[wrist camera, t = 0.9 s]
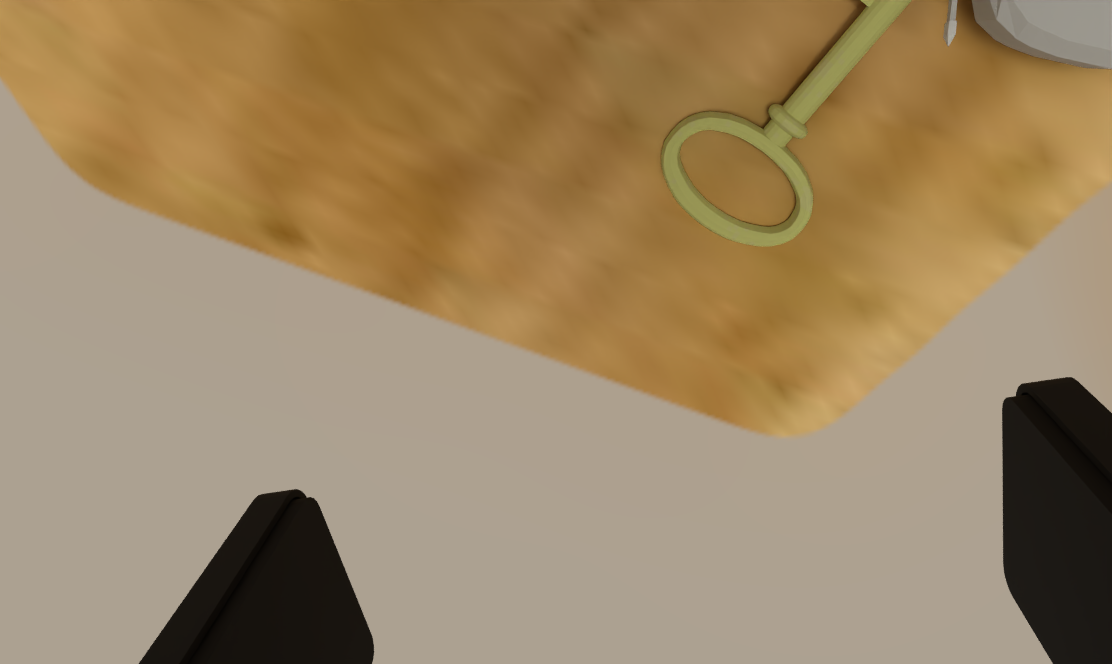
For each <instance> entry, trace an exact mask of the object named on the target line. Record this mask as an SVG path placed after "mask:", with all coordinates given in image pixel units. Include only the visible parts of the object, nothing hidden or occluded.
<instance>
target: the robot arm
mask: <svg viewBox="0 0 1112 664" xmlns="http://www.w3.org/2000/svg"><path fill="white" fill-rule="evenodd" d="M1002 421H1003V422H1002V431H1003V437H1002V438H1003V564H1004V573H1005V578H1006V581H1007V585H1008V587H1009V590H1010V592H1011V594H1012V596H1013V598H1014V599H1015V601H1016V603H1017V604H1018V606H1019V608H1020V610H1021V611H1022V613H1023V615H1024V616H1025V618H1026V620H1027V621H1028V623H1029V625H1030V626H1031V628H1032V629H1033V631H1034V633H1035V634H1036V636H1037V638H1038V640H1039V641H1040V643H1041V644H1042V646H1043V648H1044V649H1045V651H1046V653H1047V654H1048V656H1049V658H1050V659H1051V661H1052V662H1053V664H1112V413H1111V412H1110V411H1109V410H1108V409H1107V408H1106V407H1105V406H1104V405H1102V404H1101V403H1100V402H1099V401H1098V400H1097V399H1096V398H1095V397H1094V396H1093V395H1092V394H1091V393H1089V392H1088V390H1086V389H1085V388H1084V387H1083V386H1082V385H1081V384H1080V383H1079V382H1078V381H1077V380H1075V379H1074V378H1072V377H1066V378H1059V379H1053V380H1045V381H1038V382H1031V383H1024V384H1021V385H1020V386H1019V387H1018V389H1017V392H1016V396H1015V397H1008V398H1006V399H1005V400H1004V402H1003V408H1002ZM373 656H374V644H373V638H372V635H371V632H370V630H369V627H368V625H367V622H366V620H365V618H364V615H363V613H362V610H361V608H360V605H359V603H358V600H357V598H356V595H355V593H354V590H353V588H352V585H351V583H350V580H349V578H348V576H347V573H346V571H345V568H344V566H343V563H342V561H341V558H340V556H339V553H338V551H337V548H336V546H335V544H334V541H333V539H332V536H331V534H330V532H329V529H328V526H327V524H326V521H325V519H324V516H323V514H322V511H321V509H320V507H319V505H318V503H317V501H316V500H315V499H314V498H311V497H309V498H307V497H306V496H305V494H304V493H303V492H302V491H300V490H297V489H294V490H287V491H281V492H274V493H267V494H261V495H258V496H257V497H256V498H255V499H254V500H253V502H252V503H251V504H250V506H249V507H248V509H247V510H246V512H245V513H244V514H243V516H242V517H241V519H240V520H239V522H238V523H237V525H236V526H235V528H234V529H233V530H232V532H231V533H230V534H229V536H228V537H227V539H226V540H225V542H224V543H223V544H222V546H221V547H220V549H219V550H218V551H217V553H216V554H215V556H214V557H213V559H212V560H211V562H210V563H209V564H208V566H207V567H206V569H205V570H204V572H203V573H202V574H201V576H200V577H199V579H198V580H197V581H196V583H195V584H194V586H193V587H192V589H191V590H190V591H189V593H188V594H187V596H186V597H185V599H184V600H183V602H182V603H181V604H180V606H179V607H178V609H177V610H176V612H175V613H174V614H173V616H172V617H171V619H170V620H169V621H168V623H167V624H166V626H165V627H164V629H163V630H162V631H161V633H160V634H159V636H158V637H157V638H156V640H155V641H154V643H153V644H152V646H151V647H150V649H149V650H148V651H147V653H146V654H145V656H144V657H143V658H142V660H141V661H140V663H139V664H372V661H373Z"/></svg>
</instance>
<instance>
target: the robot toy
mask: <svg viewBox="0 0 1112 664" xmlns="http://www.w3.org/2000/svg"><path fill="white" fill-rule="evenodd" d="M972 4H973V10H974V16H975V21H976V22H977V23H978V24H979V25H980V26H981V27H982V28H983V29H984V30H985V31H986V32H987V33H988V34H989V35H990V36H991V37H992V38H993V39H995V40H996V41H998V42H1000V43H1002V44H1004V45H1005V46H1007V47H1010V48H1013V49H1015V50H1018V51H1020V52H1023V53H1026V54H1028V55H1031V56H1035V57H1039V58H1043V59H1048V60H1052V61H1056V62H1061V63H1065V64H1070V65H1074V66H1078V67H1083V68H1098V69H1112V0H972ZM956 9H957V0H949V5H948V14H947V22H946V23H945V27H944V36H943V38H944V40H945V42H946V43H947V45H948V46H949V45H950V43H951V41H952V40H953V38H954V36H955V34H956V25H957V21H955V18H956Z"/></svg>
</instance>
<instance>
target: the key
mask: <svg viewBox="0 0 1112 664" xmlns="http://www.w3.org/2000/svg"><path fill="white" fill-rule="evenodd" d="M860 1H861V2H863V3H864V4H865V5H866V6H867V7H866V8H865V9H864V10H863V12H862V13H861V14H860V15H859V16H858V17H857V19H856V20H855V21H854V22H853V23H852V25H851V26H850V27H849V28H848V29H847V30H846V32H845V33H844V34H843V35H842V36H841V38H840V39H839V40H838V41H837V42H836V43H835V45H834V46H833V47H832V48H831V49H830V51H829V52H828V53H827V54H826V55H825V56H824V58H823V59H822V60H821V61H820V62H819V64H818V65H817V66H816V67H815V68H814V69H813V71H812V72H811V73H810V74H809V75H808V77H807V78H806V79H805V80H804V81H803V82H802V84H801V85H800V86H799V87H798V88H797V90H796V91H795V92H794V93H793V94H792V95H791V97H790V98H789V99H788V100H787V101H786V103H785V104H784V105H783V106H781V105H779V104H773V105H772V106H770V108H769V110H768V112H769V115H770V117H771V120H770V121H769V123H768V124H767V125H766V126H765V127H764V129H762V128H760V127H758V126H757V125H755V124H753V123H751V122H750V121H748V120H746V119H743V118H741V117H738V116H735V115H732V114H729V113H721V112H712V111H707V112H702V113H697V114H694V115H692V116H689V117H687V118H686V119H684V120H683V121H681V122H680V123H679V124H678V125H677V126H676V127H675V128H674V129H673V130H672V131H671V132H670V134H669V135H668V137H667V138H666V140H665V141H664V145H663V149H662V153H661V166H662V171H663V175H664V178H665V180H666V183H667V185H668V188H669V189H670V191H671V193H672V195H673V197H674V198H675V200H676V201H677V202H678V204H679V205H680V206H681V207H682V208H683V209H684V210H685V211H686V212H687V213H688V214H689V215H690V216H691V217H693V218H694V219H695V220H696V221H697V222H699V223H700V224H701V225H703V226H704V227H706V228H707V229H709V230H711V231H712V232H714V233H716V234H718V235H720V236H721V237H723V238H726V239H729V240H731V241H735V242H739V243H743V244H747V245H754V246H775V245H779V244H783V243H785V242H787V241H790V240H792V239H793V238H794V237H795V236H796V235H798V234H799V233H800V232H801V231H802V229H803V228H804V227H805V226H806V224H807V222H808V220H809V218H810V216H811V212H812V206H813V189H812V186H811V184H810V181H809V178H808V175H807V172H806V171H805V169H804V168H803V166H802V165H801V163H800V162H799V160H798V159H797V158H796V157H795V156H794V155H793V154H792V153H791V152H790V151H789V150H788V149H787V148H786V147H785V145H786V144H787V143H788V142H789V141H790V140H791V139H792V137H796V138H798V139H803V138H804V137H805V136H806V135H807V133H808V132H807V128H806V126H805V123H806V121H807V120H808V119H809V118H810V117H811V116H812V114H813V113H814V112H815V111H816V110H817V109H818V108H819V106H820V105H821V104H822V103H823V102H824V101H825V100H826V98H827V97H828V96H829V95H830V94H831V93H832V92H833V90H834V89H835V88H836V87H837V86H838V85H839V83H840V82H841V81H842V80H843V79H844V78H845V77H846V75H847V74H848V73H849V72H850V71H851V70H852V69H853V67H854V66H855V65H856V64H857V63H858V62H859V61H860V59H861V58H862V57H863V56H864V55H865V54H866V52H867V51H868V50H869V49H870V48H871V47H872V46H873V44H874V43H875V42H876V41H877V40H878V39H879V38H880V36H881V35H882V34H883V33H884V32H885V31H886V30H887V28H888V27H889V26H890V25H891V24H892V23H893V21H894V20H895V19H896V18H897V17H898V16H899V15H900V13H901V12H902V11H903V10H904V9H905V8H906V7H907V5H908V4H909V3H910V2H911V1H912V0H860ZM704 130H714V131H720V132H726V133H729V134H732V135H735V136H737V137H740V138H742V139H743V140H745V141H747V142H749V143H751V144H752V145H754V146H755V147H757V148H758V149H759V150H761V151H762V152H764V153H765V154H766V155H767V156H768V157H769V158H771V159H772V160H773V161H774V162H775V163H776V164H777V165H778V166H779V167H780V169H781V170H782V171H783V172H784V173H785V175H786V176H787V178H788V179H789V181H790V183H791V185H792V187H793V190H794V192H795V194H796V206H795V209H794V211H793V213H792V214H791V216H790V217H789V219H788V220H786V221H785V222H783V223H781V224H779V225H776V226H770V227H765V226H758V225H753V224H749V223H745V222H742V221H740V220H737V219H735V218H733V217H731V216H729V215H727V214H725V213H723V212H722V211H720V210H719V209H718V208H716V207H715V206H713V205H712V204H711V203H710V202H708V201H707V200H706V199H705V198H704V197H703V196H702V195H701V194H700V193H699V192H698V190H697V189H696V188H695V187H694V186H693V184H692V183H691V181H690V179H689V178H688V176H687V174H686V172H685V170H684V168H683V166H682V163H681V161H680V149H681V146H682V143H683V142H684V141H685V140H686V139H687V138H688V137H690V136H691V135H692V134H694V133H697V132H699V131H704Z"/></svg>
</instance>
